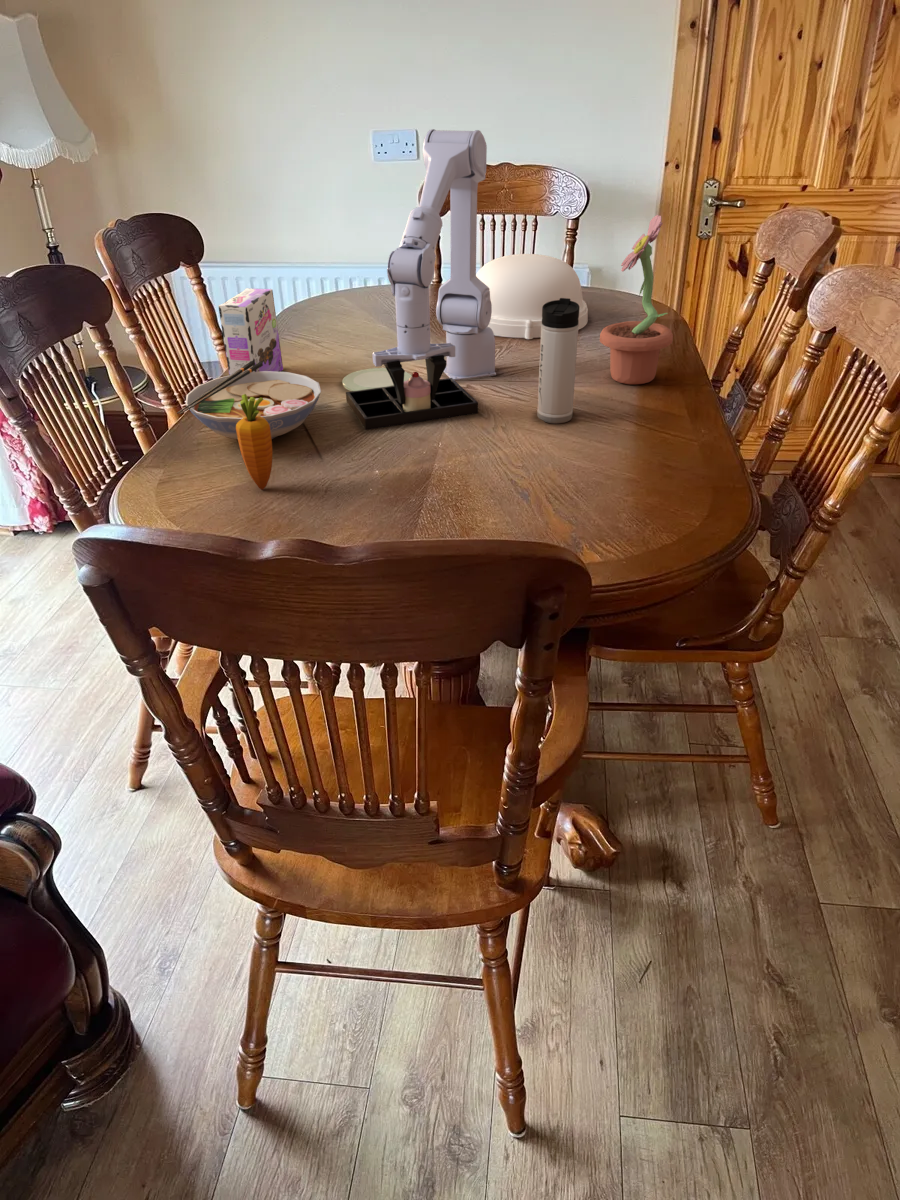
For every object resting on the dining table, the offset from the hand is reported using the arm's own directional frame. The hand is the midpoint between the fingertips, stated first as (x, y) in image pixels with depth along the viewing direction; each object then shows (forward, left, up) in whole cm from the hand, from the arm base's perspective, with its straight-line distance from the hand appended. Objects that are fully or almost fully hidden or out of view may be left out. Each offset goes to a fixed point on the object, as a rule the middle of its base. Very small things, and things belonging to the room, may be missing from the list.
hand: (416, 400), depth 150 cm
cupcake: (0, 0, -3) cm, 3 cm away
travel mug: (-23, +10, -3) cm, 25 cm away
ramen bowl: (+28, -2, -3) cm, 28 cm away
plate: (+2, -19, -3) cm, 20 cm away
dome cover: (-43, -49, -3) cm, 66 cm away
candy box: (+24, -30, -3) cm, 39 cm away
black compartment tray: (0, -3, -3) cm, 5 cm away
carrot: (+31, +20, -3) cm, 37 cm away
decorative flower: (-46, -3, -3) cm, 46 cm away
